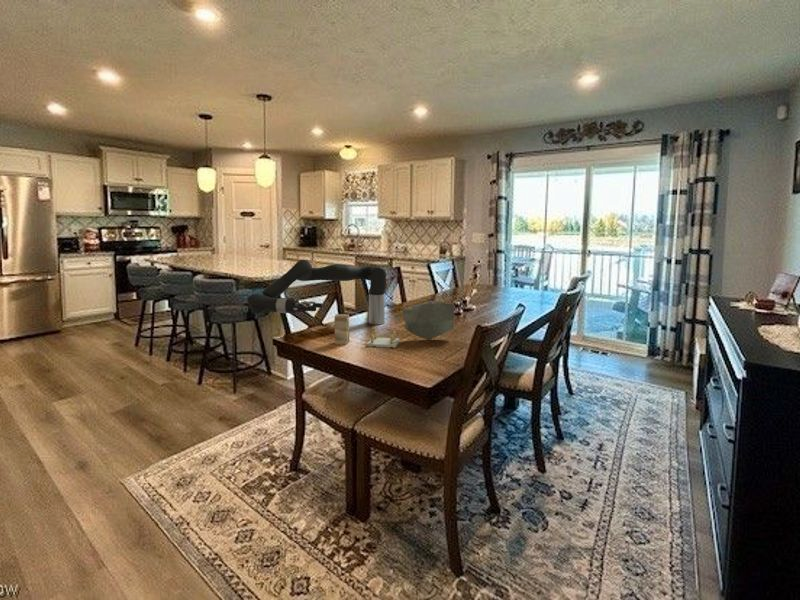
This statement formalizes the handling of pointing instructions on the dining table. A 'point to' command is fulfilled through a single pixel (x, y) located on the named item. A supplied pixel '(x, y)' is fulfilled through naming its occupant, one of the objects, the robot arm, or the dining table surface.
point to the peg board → (383, 340)
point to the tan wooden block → (341, 329)
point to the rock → (429, 319)
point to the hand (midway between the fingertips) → (319, 307)
